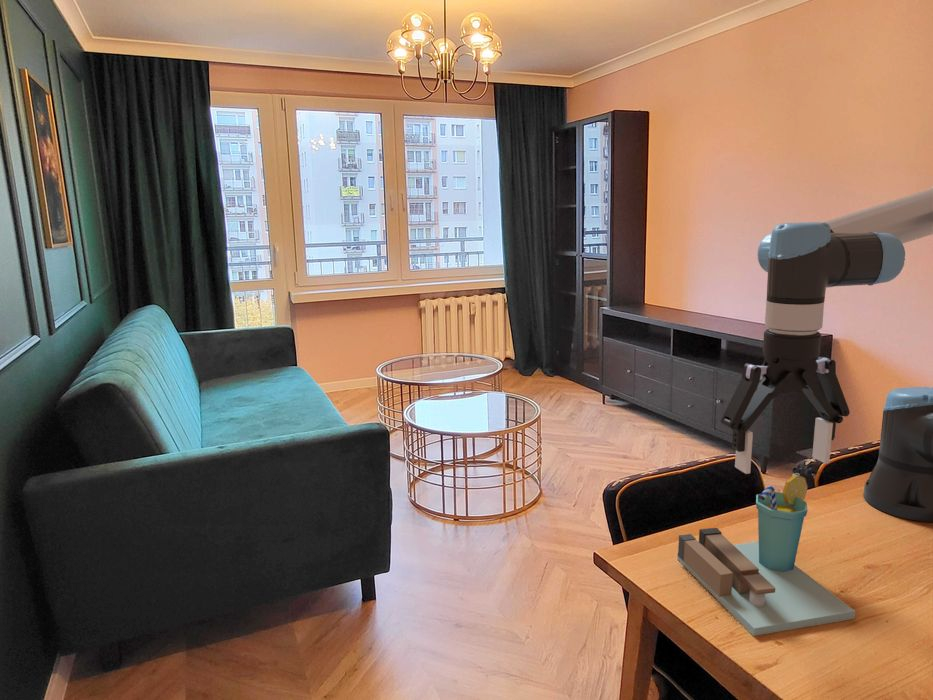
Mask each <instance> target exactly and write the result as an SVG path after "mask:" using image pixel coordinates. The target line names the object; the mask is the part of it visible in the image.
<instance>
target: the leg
mask: <svg viewBox="0 0 933 700" xmlns="http://www.w3.org/2000/svg"><path fill="white" fill-rule="evenodd" d="M698 531H699V532H698V542H699V543H700V544H701V545H703V546H704V547H705V548H706V549H707V550H708V551H709V552H710V553H711V554H712V555H714V556H715V557H716V558H717V559H718V560H719V561H720V562H721V563H722V564H724V565H725V566H726V567H727V568H728V569H729V570H730V571H731V572H732V573H733V580H732V586H733V587H734V588H735V589H736V590H737V591H738V592H739V593H742V592H750V588H751V589H752V590H753V591H754V592H755V593H756V594H757V595H758V594H767V593H775V587H774V586H773V585H772V584H771V583H770V582H768V581H767V580H766V579H765V578H764V577H763V576H762V575H761V574H760V573H759V569H758V568H757V567H756V566H755V565H754V564H753V563H752V562H751V561H750V560H749V559H748V558H746V557H745V556H744V555H743V554H742V553H741V552H740V551H739V550H738V549H737V548H736V547H735V546H734V545H735V544H733V543H732V542H731V541H730V540H729V539H728V538H726V536H724V535H723V534H722V531H720V529H719V528H718V527H709V528H700V529H699V530H698Z"/></svg>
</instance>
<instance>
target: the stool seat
mask: <svg viewBox="0 0 933 700" xmlns="http://www.w3.org/2000/svg"><path fill="white" fill-rule="evenodd" d="M733 545H734V546H735V547H736V548H737V549H738V550H739V551H740V552H741V553H742V554H743V555H744V556H745V557H746V558H748V559H749V560H750V561H751V562H752V563H753V564H754V565H755V566H756V567H757V568H758V569H759V573H760V574H761V575H762V576H763V577H764V578H765V579H766V580H767V581H768V582H770V583H771V584H772V585H773V586H774V587H775V593H767V594H758V595H757V594H756V593H755V592H754V591H753V590H752V589H751V588H750V592H742V593H739V592H738V591H737V590H736V589H735V588H734V587H733V586H732V580H733V573H732V572H731V571H730V570H729V569H728V568H727V567H726V566H725V565H724V564H722V563H721V562H720V561H719V560H718V559H717V558H716V557H715V556H714V555H712V554H711V553H710V552H709V551H708V550H707V549H706V548H705V547H704V546H703V545H701V544H700V543H699V540H698V539H696V537H695V536H694V535H693V534H692V533H687V534H681V535H678V546H677V548H678V549H677V550H678V551H677V559H676V560H677V561H679V563H680V564H681V565H682V566H684V567H685V568H686V570H687V571H688V572H689V573H690V574H691V575H692V576H693V577H694V578H696V580H697V581H698V582H699V583H700V584H701V585H702V586H703V587H704V588H705V589H706V590H707V591H708V592H709V593H710V594H712V596H713V597H714V598H715V599H716V600H717V601H718V602H719V603H720V604H721V606H722V607H724V608H725V609H726V610H727V611H728V612H729V613H730V614H731V615H732V617H734V618H735V619H736V620H737V621H738V623H740V624H741V626H743V628H744V629H746V630H747V631H748V632H749V633H750V634H751V636H753V637H757V636H762V635H767V634H775V633H779V632H786V631H792V630H797V629H803V628H808V627H813V626H819V625H826V624H831V623H838V622H842V621H843V622H844V621H849V620H854V619H855V615H856V610H854V609H853V608H852V607H851V606H849V605H848V604H846V602H844V601H842V600H841V598H839V597H838V596H836V595H835V594H834V593H832V592H831V591H829V590H828V589H827V588H826V587H824V586H823V585H822V584H821V583H819V582H818V581H817V580H815V579H814V578H812V577H811V576H810V575H809V574H807V572H804V570H802V569H801V568H799V567H798V566H797V565H796V564H794V569H793V570H789V571H786V572H780V571H775V570H770V569H768V568H766V567H765V566H763V565H762V564H760V563H759V540H758V541H757V540H756V541H750V542H745V543H744V542H743V543H737V544H733Z"/></svg>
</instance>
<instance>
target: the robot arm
mask: <svg viewBox="0 0 933 700" xmlns="http://www.w3.org/2000/svg"><path fill="white" fill-rule="evenodd" d="M932 235H933V185H932V186H931V187H930V188H929V189H926V190H923V191H920V192H917V193H914V194H910V195H907V196H904V197H900V198H896V199H895V200H890V201H888V202H884V203H881V204H878V205H874V206H872V207H869V208H865V209H862V210H859V211H856V212H851V213H849V214H846V215H842V216H840V217H836V218H833V219H829V220H826V221H822V222H821V221H819V222H817V221H816V222H815V221H814V222H813V221H810V222H806V221H805V222H803V221H802V222H785V223H784V222H783V223H779V224H776V225H775V226H774V227H773V228H772V231H771V232H770V233H768V234H767V235H765V237H763V239H762V240H761V241H760V243H759V245H758V249H757V261H758V264H759V266H760V268H761V269H762V270H764V272H766V273H767V283H766V286H767V287H766V301H765V315H764V316H765V317H764V326H765V327H766V328H767V329H765V331H764V332H763V340H762V341H763V342H762V344H763V345H762V352H763V355H764V361H763V363H762V364H761V365H754V364H752V363H748V362H747V363H745V364H744V365H743V369H742V374H741V375H742V376H741V379H740V381H739V383H738V385H737V387H736V389H735V391H734V393H733V395H732V397H731V399H730V401H729V403H728V405H727V407H726V408H725V411H724V413H723V415H722V417H721V419H720V423H721V424H722V425H723V426H725V427H727V428H729V429H730V430H732V439H731V440H732V441H731V442H732V443H731V447H732V449H733V450H735V456H734V457H735V458H734V459H735V460H734V468H736V469H737V470H739V471H740V472H741V473H744V474H745V475H747V474H748V475H749V474H751V467H752V465H751V464H752V449H753V436H754V435H753V434H754V432H753V431H751V430H750V428H751V427H752V426H753V424H754V423H755V422H756V421H757V419H758V418H759V417H760V416H761V414H762V413H763V411H764V410H765V409H766V408H767V407H768V405H769V404H770V403H771V402H772V400H773V399H775V398H777V397H779V395H781V394H788V393H791V392H796V393H797V392H803V394H804V395H805V397H806V398H807V400H809V402H810V403H811V405H813V407H814V408H815V410H816V411H817V413H818V414H819V415H820V416H821V417H815V422H814V432H813V445H812V454H811V455H812V458H814V459H815V460H817V461H819V462H821V463H823V464H830V460H831V459H830V457H831V449H832V448H831V447H832V441H834V440H835V436H836V429H837V428H836V427H837V426H836V425H837V424H842V422H843V421H844V417H845V418H846V417H848V416H849V415H850V413H851V412H850V408H849V406H848V403H847V400H846V398H845V395H844V391H843V389H842V387H841V385H840V381H839V378H838V376H837V370H836V368H837V367H836V365H837V364H836V363H837V362H836V360H835V359H831V358H828V357H824V356H820V354H821V344H822V334H821V333H820V332H819V330H822V328H823V322H824V308H825V307H824V306H825V299H826V292H827V291H826V289H827V288H833V287H846V286H847V287H848V286H849V287H850V286H874V285H877V284H883V283H888V282H890V281H892V280H894V279H896V278H897V277H898V276H899V275H900V273H901V272H902V270H903V269H904V266H905V261H906V249H905V247H904V245H903V244H906V243H910V242H913V241H915V240H919V239H923V238H924V237H925V238H926V237H928V236H929V237H930V236H932ZM816 373H817V376H818V379H819V382H820V385H821V387H822V390H823V392H824V393H822V391H821V390H820V385H819V384H818V383H817V382H816V380H815V379H814V378H813V377H814V376H815V374H816ZM769 386H770V387H769ZM882 409H883V410H882V420H881V421H882V422H881V429H880V438H879V439H880V441H879V451H878V457H877V458H878V459H877V461H876V463H875V465H874V467H873V469H872V471H871V473H870V475H869V476H868V479H866V480H865V483H864V485H863V494H862V495H863V499H864V500H865V501H866V502H867V503H868V504H869V505H871V506H872V507H873V508H875V509H878V510H879V511H882V512H884V513H886V514H889V515H891V516H894V517H898V518H902V519H905V520H906V519H907V520H912V521H918V522H923V523H933V387H930V386H927V387H926V386H910V387H908V386H906V387H898V388H895V389H891V390H890V391H889V392H888V393H887V394H886V398H885V402H884V407H883V408H882Z"/></svg>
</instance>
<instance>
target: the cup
mask: <svg viewBox="0 0 933 700" xmlns="http://www.w3.org/2000/svg"><path fill="white" fill-rule="evenodd" d="M807 483H808V482H807V480H806V478H805V477H803V476H802V475H801V476H800V475H797V474H793V475H791V477H790V478H788V479H787V480H786V481H785V484H784V486H783V488H782V489H783V490H782V492H779V491H776V489H775V487H774V486H772V485H768V486H766V488H765V489H764V490H763V491H762V492H761V493H758V494H756V495H755V497H756V499H755V506H756V507H755V508H756V509H757V521H758V522H757V523H758V526H757V527H758V528H757V529H758V530H757V531H758V541H759V563H760V564H762V565H763V566H765V567H766V568H768V569H770V570H775V571H780V572H786V571H789V570H793V569H794V565H796V564H795V562H796V558H797V553H798V549H799V544H800V539H801V533H802V529H803V524H804V519H805V517H807V515H808V503H807V502H806V501H805V498H806V495H807V491H808V490H809V489H808V488H809V486H808V484H807Z"/></svg>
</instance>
